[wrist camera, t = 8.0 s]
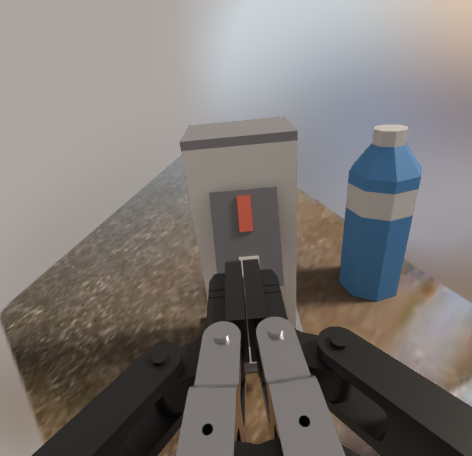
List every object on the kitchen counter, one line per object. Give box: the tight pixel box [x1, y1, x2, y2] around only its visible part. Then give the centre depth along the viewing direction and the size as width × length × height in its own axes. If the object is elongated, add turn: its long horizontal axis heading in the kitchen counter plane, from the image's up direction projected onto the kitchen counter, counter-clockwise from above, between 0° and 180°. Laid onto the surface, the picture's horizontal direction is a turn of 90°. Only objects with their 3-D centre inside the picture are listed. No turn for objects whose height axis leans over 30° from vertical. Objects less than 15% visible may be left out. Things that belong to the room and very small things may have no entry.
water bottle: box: [339, 125, 421, 302], centre depth 46 cm, size 9×9×25 cm
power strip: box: [180, 117, 303, 373], centre depth 36 cm, size 10×13×29 cm
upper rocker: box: [209, 187, 284, 289], centre depth 28 cm, size 2×6×9 cm, turn 91°
